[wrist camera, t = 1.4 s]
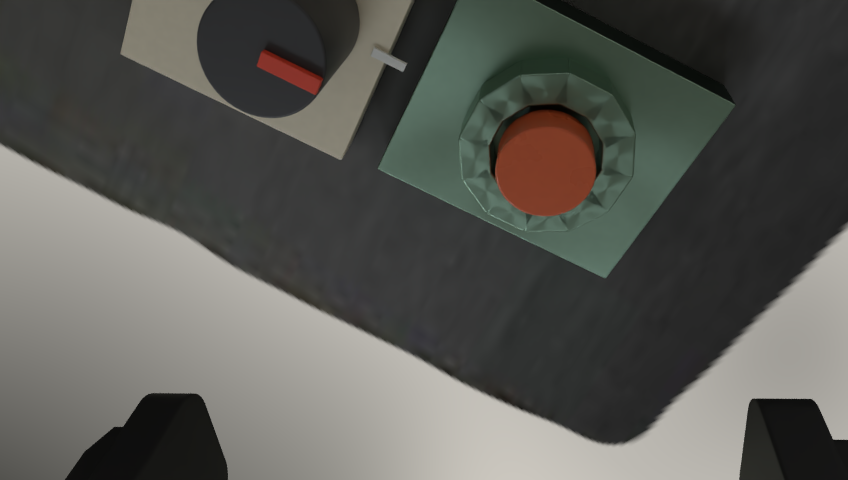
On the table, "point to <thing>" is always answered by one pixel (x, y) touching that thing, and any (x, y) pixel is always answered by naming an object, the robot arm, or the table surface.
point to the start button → (545, 163)
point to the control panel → (332, 108)
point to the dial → (274, 50)
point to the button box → (563, 91)
